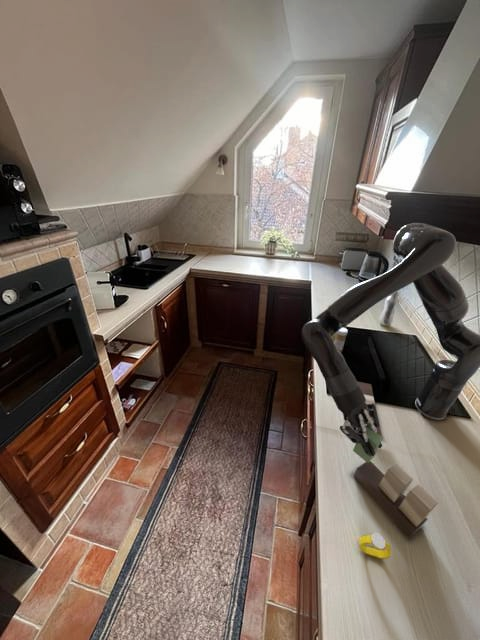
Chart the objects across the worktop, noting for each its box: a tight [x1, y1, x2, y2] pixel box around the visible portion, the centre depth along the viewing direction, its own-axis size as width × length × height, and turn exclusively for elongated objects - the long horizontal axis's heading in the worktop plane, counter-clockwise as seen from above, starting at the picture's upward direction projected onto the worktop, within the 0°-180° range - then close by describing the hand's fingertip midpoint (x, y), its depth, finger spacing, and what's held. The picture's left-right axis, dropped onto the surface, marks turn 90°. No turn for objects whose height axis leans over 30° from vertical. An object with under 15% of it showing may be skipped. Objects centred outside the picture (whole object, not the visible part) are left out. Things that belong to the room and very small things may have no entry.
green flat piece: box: [352, 426, 384, 463], centre depth 67 cm, size 3×4×8 cm
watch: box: [358, 532, 392, 560], centre depth 55 cm, size 6×3×6 cm, turn 72°
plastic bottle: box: [378, 291, 401, 327], centre depth 140 cm, size 6×7×20 cm
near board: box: [356, 380, 382, 436], centre depth 91 cm, size 24×10×9 cm, turn 163°
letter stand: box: [353, 460, 439, 539], centre depth 63 cm, size 5×16×12 cm, turn 28°
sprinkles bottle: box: [334, 327, 349, 354], centre depth 117 cm, size 5×5×13 cm
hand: (375, 450), depth 65 cm, fingers closed on green flat piece, 3 cm apart
